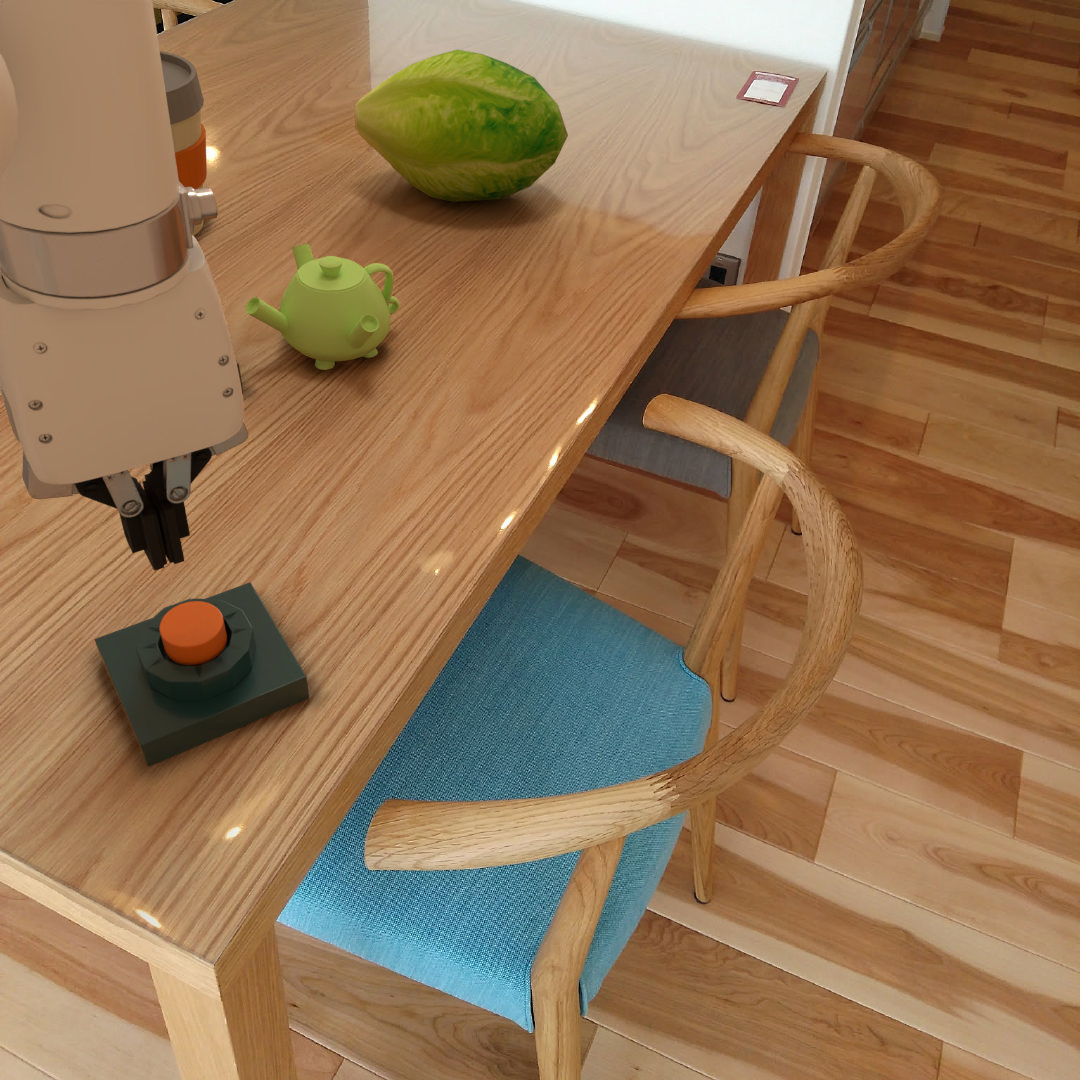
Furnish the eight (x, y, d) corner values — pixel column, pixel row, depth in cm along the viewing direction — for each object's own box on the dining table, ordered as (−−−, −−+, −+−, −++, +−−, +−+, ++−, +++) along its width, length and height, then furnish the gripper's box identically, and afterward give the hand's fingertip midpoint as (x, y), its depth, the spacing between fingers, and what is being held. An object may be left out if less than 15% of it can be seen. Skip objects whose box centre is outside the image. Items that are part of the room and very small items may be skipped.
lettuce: (351, 214, 106) (363, 168, 119) (567, 224, 108) (556, 178, 121) (344, 63, 98) (358, 31, 110) (579, 77, 100) (567, 44, 112)
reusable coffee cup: (180, 265, 98) (150, 109, 88) (66, 238, 100) (24, 82, 90) (244, 210, 107) (224, 62, 97) (138, 186, 109) (107, 39, 99)
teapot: (417, 325, 94) (416, 241, 88) (376, 395, 86) (372, 308, 80) (302, 303, 95) (293, 219, 89) (250, 370, 87) (237, 282, 81)
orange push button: (176, 674, 59) (171, 655, 58) (156, 633, 61) (150, 614, 60) (236, 651, 61) (232, 632, 60) (214, 612, 63) (210, 592, 62)
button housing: (148, 767, 59) (134, 727, 56) (102, 661, 64) (87, 619, 61) (309, 698, 63) (304, 657, 60) (254, 604, 68) (247, 562, 66)
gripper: (232, 171, 48) (266, 472, 61) (-125, 225, 41) (-5, 551, 54) (296, 241, 44) (318, 549, 56) (-91, 314, 37) (31, 646, 49)
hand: (160, 549), depth 55 cm, fingers closed
